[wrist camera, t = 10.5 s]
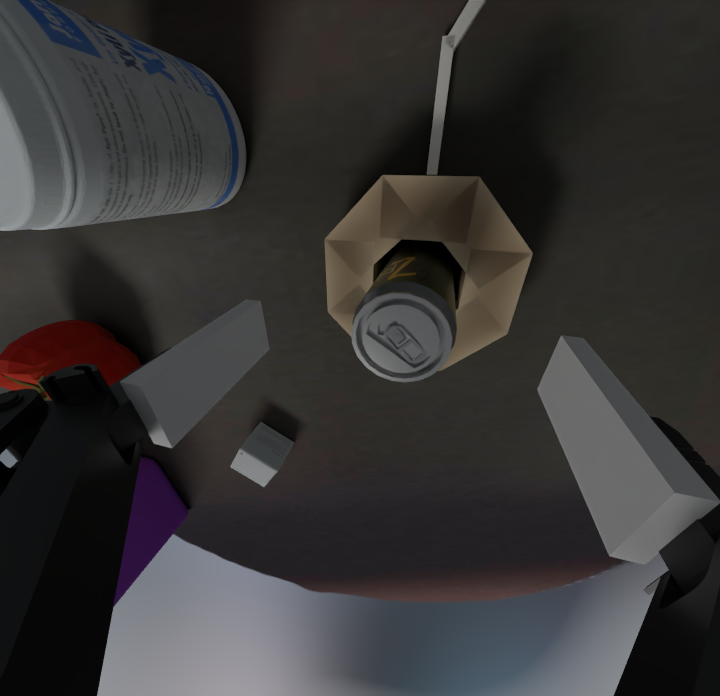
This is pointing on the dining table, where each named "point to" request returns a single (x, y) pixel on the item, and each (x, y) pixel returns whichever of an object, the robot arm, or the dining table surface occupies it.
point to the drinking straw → (448, 78)
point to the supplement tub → (105, 125)
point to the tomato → (63, 354)
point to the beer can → (408, 315)
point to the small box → (262, 454)
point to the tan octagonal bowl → (432, 223)
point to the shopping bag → (148, 522)
